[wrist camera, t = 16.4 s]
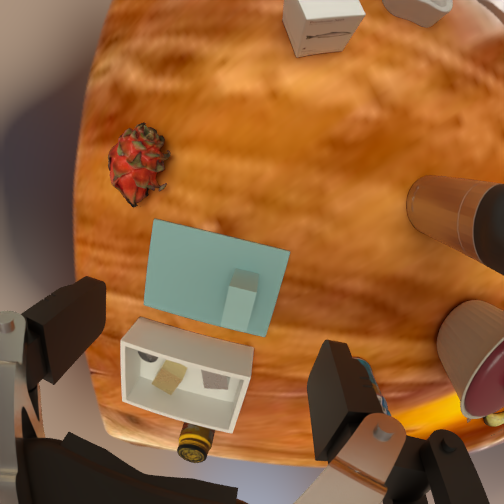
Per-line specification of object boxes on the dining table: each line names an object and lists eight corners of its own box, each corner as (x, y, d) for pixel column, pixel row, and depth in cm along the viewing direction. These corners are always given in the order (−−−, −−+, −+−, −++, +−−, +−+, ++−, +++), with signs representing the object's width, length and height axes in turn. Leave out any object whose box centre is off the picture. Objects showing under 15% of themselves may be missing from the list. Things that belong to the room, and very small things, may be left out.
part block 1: (187, 367, 49) (182, 379, 46) (176, 383, 50) (170, 395, 47) (167, 356, 49) (161, 367, 45) (157, 372, 50) (151, 383, 47)
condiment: (189, 395, 52) (174, 440, 40) (232, 407, 52) (223, 453, 41) (185, 418, 54) (171, 460, 42) (224, 428, 54) (216, 472, 43)
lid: (289, 250, 44) (293, 267, 36) (265, 334, 48) (264, 362, 40) (156, 217, 44) (133, 228, 36) (145, 302, 48) (126, 324, 40)
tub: (254, 347, 48) (250, 377, 40) (236, 403, 52) (232, 433, 44) (140, 316, 48) (120, 340, 40) (137, 375, 52) (122, 401, 44)
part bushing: (166, 335, 47) (158, 348, 44) (164, 352, 48) (157, 365, 45) (146, 329, 47) (137, 341, 44) (146, 346, 48) (137, 358, 45)
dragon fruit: (165, 122, 41) (154, 196, 46) (110, 118, 36) (102, 196, 41) (181, 127, 34) (167, 215, 39) (115, 122, 30) (106, 216, 35)
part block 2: (229, 357, 48) (226, 371, 44) (230, 374, 49) (227, 389, 45) (205, 356, 48) (201, 370, 44) (208, 373, 49) (204, 388, 45)
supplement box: (295, 59, 35) (304, 20, 23) (281, 19, 34) (283, -26, 22) (343, 52, 35) (367, 15, 22) (328, 14, 33) (344, -30, 21)
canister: (409, 325, 45) (465, 404, 25) (482, 264, 41) (558, 312, 21) (436, 380, 48) (478, 450, 28) (499, 328, 45) (554, 381, 24)
